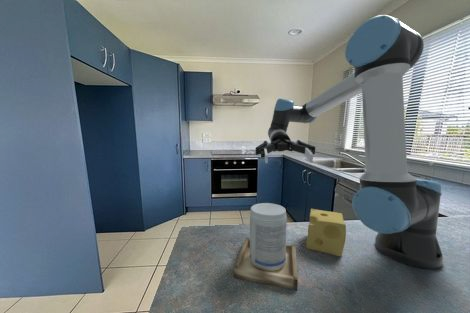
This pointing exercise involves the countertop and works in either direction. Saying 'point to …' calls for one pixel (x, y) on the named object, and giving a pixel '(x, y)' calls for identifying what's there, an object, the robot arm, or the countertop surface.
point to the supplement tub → (268, 236)
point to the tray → (277, 278)
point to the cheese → (326, 232)
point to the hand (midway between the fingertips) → (288, 159)
